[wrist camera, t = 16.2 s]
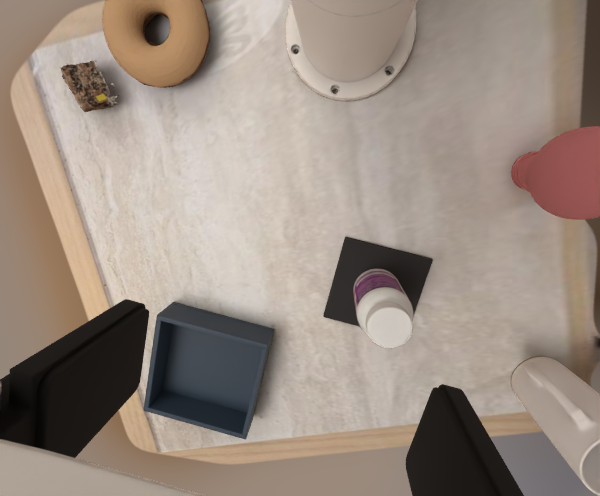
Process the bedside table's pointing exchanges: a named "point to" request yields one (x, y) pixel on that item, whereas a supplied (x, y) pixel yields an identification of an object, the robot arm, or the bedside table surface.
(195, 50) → the donut
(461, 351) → the bedside table surface
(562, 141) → the light bulb
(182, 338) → the bin
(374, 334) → the pill bottle
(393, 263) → the mat
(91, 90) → the rock
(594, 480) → the mug
